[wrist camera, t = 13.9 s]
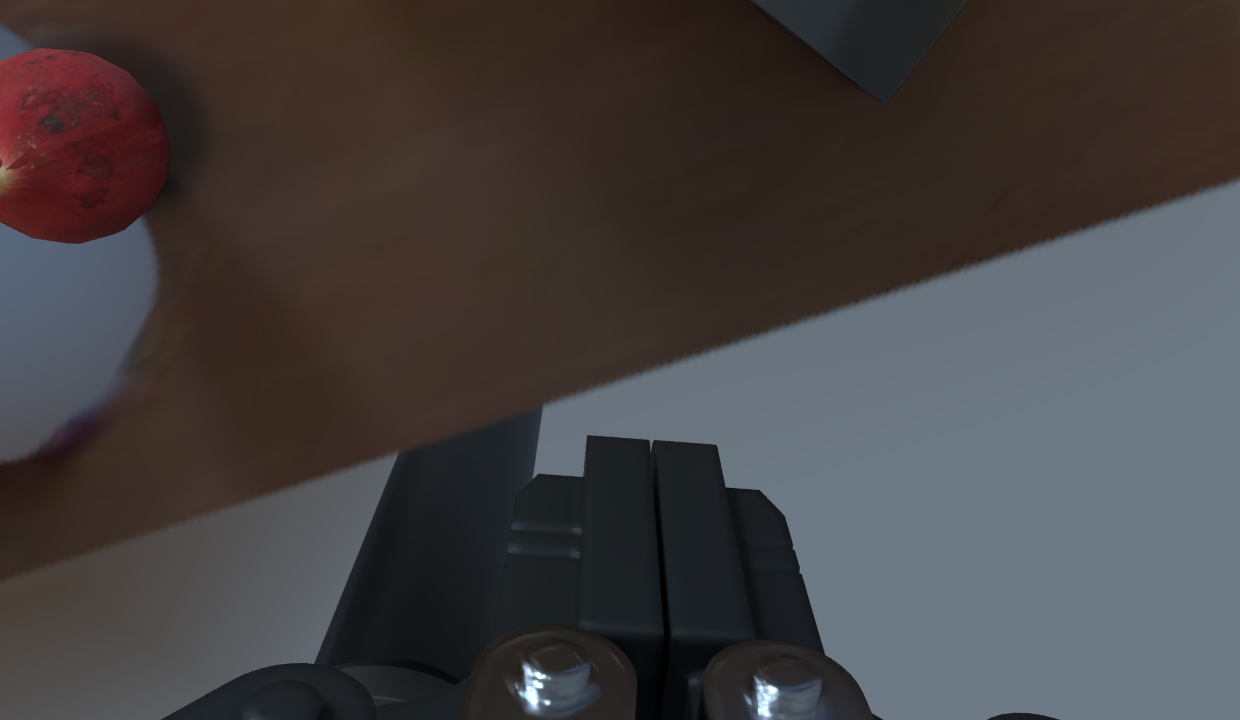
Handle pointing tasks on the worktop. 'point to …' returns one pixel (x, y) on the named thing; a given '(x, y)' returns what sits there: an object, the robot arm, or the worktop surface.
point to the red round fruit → (76, 146)
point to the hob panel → (866, 35)
